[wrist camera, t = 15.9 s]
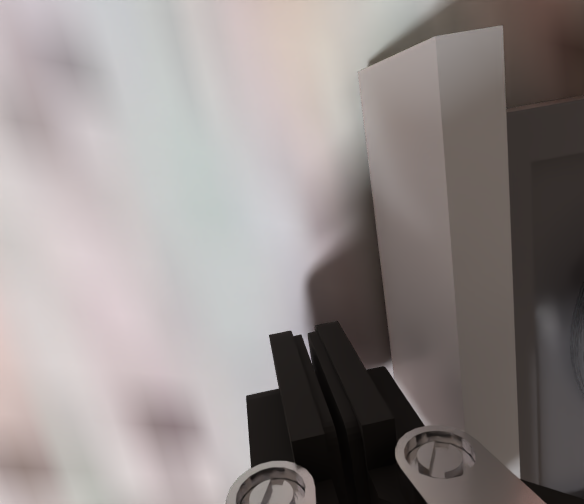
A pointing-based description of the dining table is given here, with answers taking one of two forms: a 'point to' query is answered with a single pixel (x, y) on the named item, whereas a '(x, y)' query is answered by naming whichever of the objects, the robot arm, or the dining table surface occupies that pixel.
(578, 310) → the disc
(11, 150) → the dining table surface
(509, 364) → the tray
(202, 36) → the dining table surface
